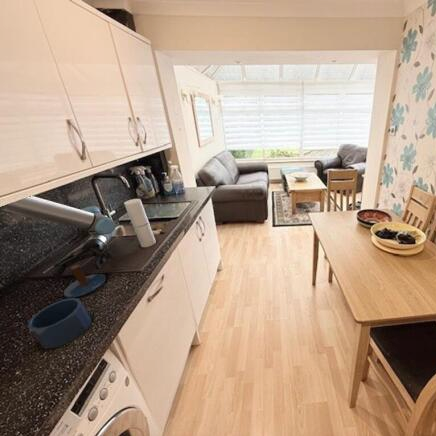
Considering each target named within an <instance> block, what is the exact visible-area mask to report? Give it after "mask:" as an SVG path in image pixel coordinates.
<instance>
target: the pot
mask: <svg viewBox="0 0 436 436" xmlns="http://www.w3.org/2000/svg"><path fill="white" fill-rule="evenodd" d="M91 323H92V318H91V316H90V314H89V313H88V310H87V309H86V307H85V306H84V304H83V302H82V301H81V299H80V298H71V299H66V298H64V299H62V300H59V301H57V302H53V303H52V304H50V305H47V306H45V307H44V308H42V309H41V310H39V311H38V312H36V313H35V314H34V315H33V316H32V317H31V318H30V319H29V321H28V323H27V325H26V326H27V328H28V330H29V331H30V333H31V334H32V335H33V337H34V338H35V339H36V340H37V342H38V343H39V344H40V345H41V347H42V348H44V349H53V348H58V347H61V346H64V345H66V344H68V343H70V342H72V341H74V340H75V339H78V337H79V336H81V335H82V334H83V333H84V332H85V331H87V330H88V328H89V326H90V325H91Z"/></svg>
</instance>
